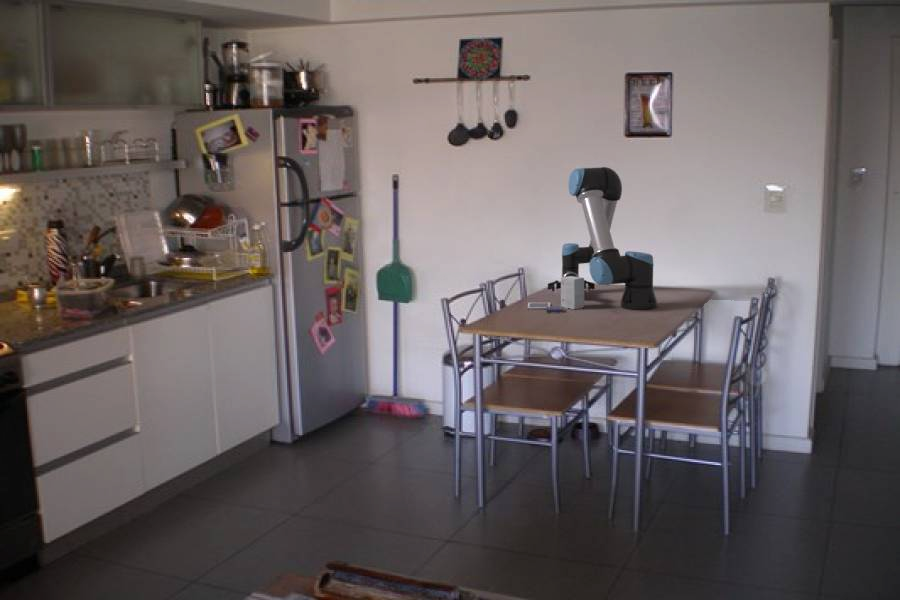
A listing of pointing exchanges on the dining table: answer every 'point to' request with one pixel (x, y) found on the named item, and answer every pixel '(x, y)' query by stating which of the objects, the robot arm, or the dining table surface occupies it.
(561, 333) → the dining table surface
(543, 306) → the print card
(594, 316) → the dining table surface
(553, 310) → the ink pad
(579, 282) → the small box
